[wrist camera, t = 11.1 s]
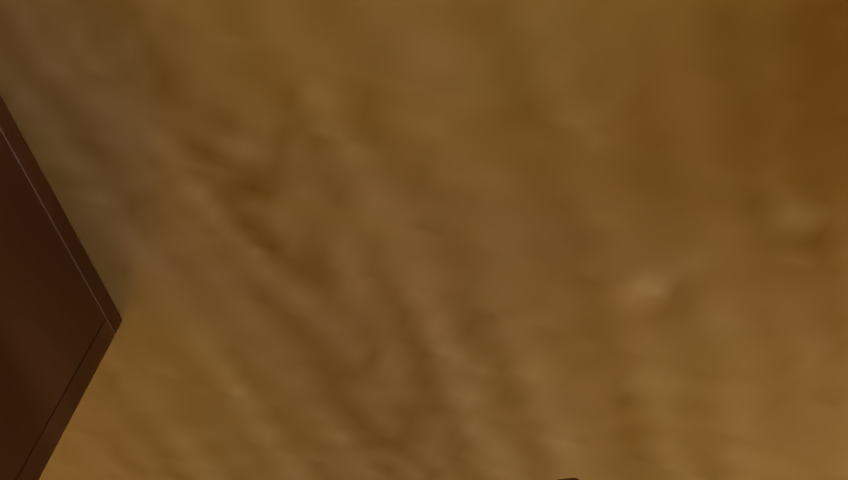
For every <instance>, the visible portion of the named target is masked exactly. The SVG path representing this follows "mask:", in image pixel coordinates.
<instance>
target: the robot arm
mask: <svg viewBox="0 0 848 480" xmlns="http://www.w3.org/2000/svg"><path fill="white" fill-rule="evenodd" d="M559 480H579V479H577V478H567V479H559Z"/></svg>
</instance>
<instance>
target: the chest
mask: <svg viewBox="0 0 848 480" xmlns="http://www.w3.org/2000/svg"><path fill="white" fill-rule="evenodd" d="M121 322H122V319H121V317H120V315H119V313H118V311H117V309H116V308H115V306H114V304H113V302H112V300H111V298H110V297H109V295H108V293H107V291H106V289H105V287H104V286H103V284H102V282H101V280H100V278H99V276H98V275H97V273H96V271H95V269H94V267H93V265H92V264H91V262H90V260H89V258H88V256H87V254H86V253H85V251H84V249H83V247H82V245H81V243H80V242H79V240H78V238H77V236H76V234H75V232H74V231H73V229H72V227H71V225H70V223H69V221H68V219H67V218H66V216H65V214H64V212H63V210H62V208H61V207H60V205H59V203H58V201H57V199H56V197H55V196H54V194H53V192H52V190H51V188H50V186H49V185H48V183H47V181H46V179H45V177H44V175H43V174H42V172H41V170H40V168H39V166H38V164H37V163H36V161H35V159H34V157H33V155H32V153H31V152H30V150H29V148H28V146H27V144H26V142H25V141H24V139H23V137H22V135H21V133H20V131H19V130H18V128H17V126H16V124H15V122H14V120H13V119H12V117H11V115H10V113H9V111H8V109H7V108H6V106H5V104H4V102H3V100H2V98H1V97H0V480H39V478H40V476H41V474H42V472H43V470H44V468H45V466H46V464H47V463H48V461H49V459H50V457H51V455H52V453H53V451H54V449H55V447H56V446H57V444H58V442H59V440H60V438H61V436H62V434H63V432H64V430H65V428H66V427H67V425H68V423H69V421H70V419H71V417H72V415H73V413H74V411H75V410H76V408H77V406H78V404H79V402H80V400H81V398H82V396H83V394H84V393H85V391H86V389H87V387H88V385H89V383H90V381H91V379H92V377H93V375H94V374H95V372H96V370H97V368H98V366H99V364H100V362H101V360H102V358H103V357H104V355H105V353H106V351H107V349H108V347H109V345H110V343H111V341H112V339H113V338H114V334H115V333H116V332H117V330H118V328H119V326H120V324H121Z"/></svg>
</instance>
